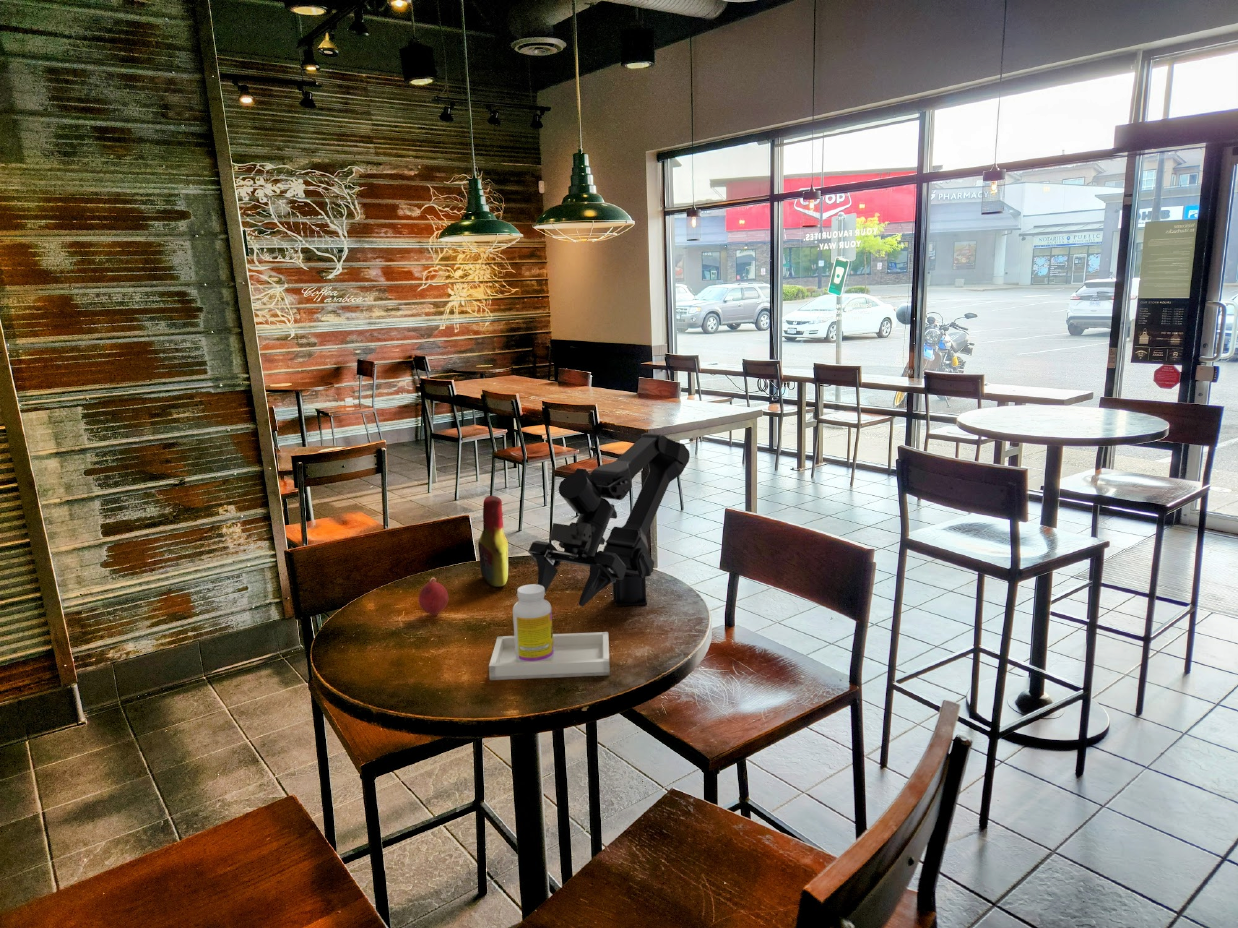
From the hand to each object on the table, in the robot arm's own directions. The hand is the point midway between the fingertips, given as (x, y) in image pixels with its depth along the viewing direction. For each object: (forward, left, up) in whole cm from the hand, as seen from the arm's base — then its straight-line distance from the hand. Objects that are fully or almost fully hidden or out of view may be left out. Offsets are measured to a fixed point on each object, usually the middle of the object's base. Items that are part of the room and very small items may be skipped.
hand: (559, 601), depth 142 cm
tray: (+1, +7, -8) cm, 11 cm away
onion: (+26, -17, -9) cm, 32 cm away
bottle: (+16, -36, -9) cm, 40 cm away
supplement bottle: (+4, +7, -8) cm, 11 cm away
